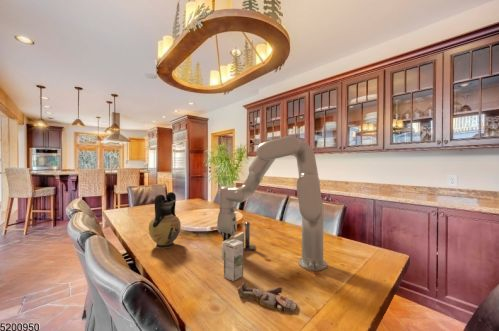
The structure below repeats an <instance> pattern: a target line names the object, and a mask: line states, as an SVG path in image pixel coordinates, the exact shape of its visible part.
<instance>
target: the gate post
mask: <svg viewBox="0 0 499 331" xmlns="http://www.w3.org/2000/svg"><path fill="white" fill-rule="evenodd" d="M250 225H251V223H250V222H249V221H246V222H245V223H244V229H245V232H244V251H255V249H256V245H255V244H253V245H252V244H250V243H251V242H250V239H251V238H250V237H251V236H250V235H251V234H250Z"/></svg>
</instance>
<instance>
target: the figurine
mask: <svg viewBox="0 0 499 331" xmlns="http://www.w3.org/2000/svg"><path fill="white" fill-rule="evenodd" d="M247 286H248V285H247V283H246V281H244V282H242V283H241V285H240V286H238V288H237V293H238V296H239V298H250V299H253V300H255V301H257V302H259V304H260V305H261V306H263V307H265V308H266V307H267V308H269V309H272V310H276V308H277V312H280V313H281V312H284V313H287V314H288V313H289V314H295V313H296V310H297V308H298V303H297V302H295V301H293V300H292V299H290V298H288V297H286V296H283V295H281V293H283V292H282V291H283V286H277V287H273V288H270V289H268V290H266V291H265V290H263V289H259V288H253V287H247Z"/></svg>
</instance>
